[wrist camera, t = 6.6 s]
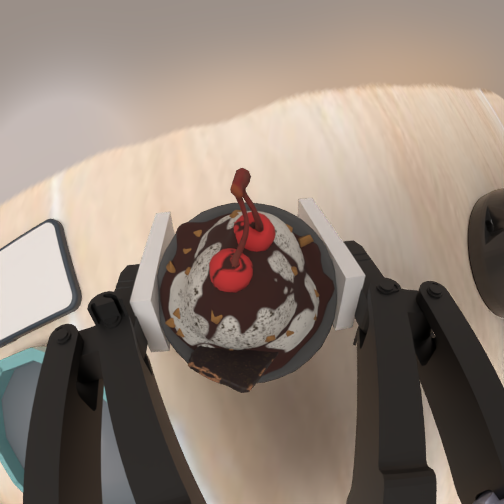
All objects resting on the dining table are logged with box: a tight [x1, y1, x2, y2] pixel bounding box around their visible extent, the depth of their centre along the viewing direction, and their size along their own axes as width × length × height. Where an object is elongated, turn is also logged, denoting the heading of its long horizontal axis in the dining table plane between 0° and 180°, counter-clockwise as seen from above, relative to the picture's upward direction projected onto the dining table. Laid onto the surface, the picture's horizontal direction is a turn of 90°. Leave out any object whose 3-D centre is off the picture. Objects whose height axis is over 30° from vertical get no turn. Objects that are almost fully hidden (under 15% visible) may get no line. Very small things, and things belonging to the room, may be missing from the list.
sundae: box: [157, 168, 337, 393], centre depth 13 cm, size 7×7×15 cm
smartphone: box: [0, 219, 82, 348], centre depth 21 cm, size 9×2×16 cm
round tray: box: [0, 346, 136, 504], centre depth 18 cm, size 19×19×3 cm
